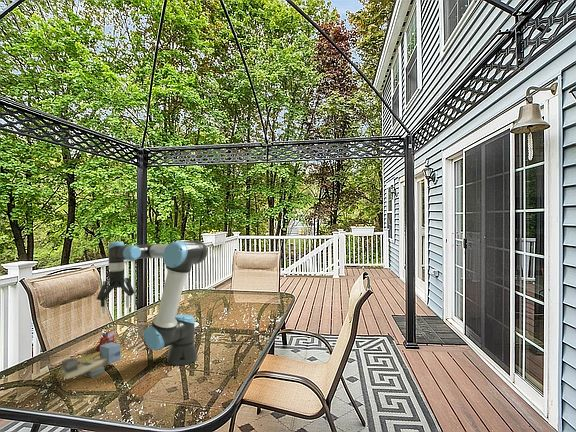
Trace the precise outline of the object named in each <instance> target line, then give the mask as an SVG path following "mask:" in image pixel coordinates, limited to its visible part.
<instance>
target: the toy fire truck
mask: <svg viewBox="0 0 576 432" xmlns="http://www.w3.org/2000/svg"><path fill="white" fill-rule="evenodd" d="M115 334H116V330H115V329H111V330H109V331H107V332H105V333H103V334H102V337H101V338H100V340H99V343H98V345H97V346H96V347H95V351H96V352H100V346H101V345H104V344H107V343H110V342H113V343H116V344H118V342H117V341H115ZM96 352H95V353H96Z"/></svg>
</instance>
